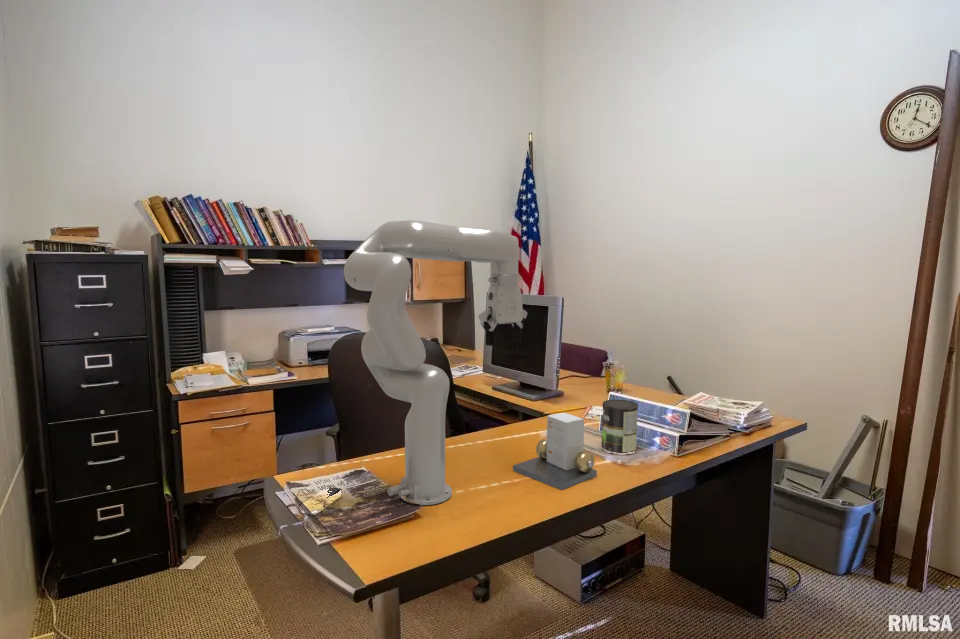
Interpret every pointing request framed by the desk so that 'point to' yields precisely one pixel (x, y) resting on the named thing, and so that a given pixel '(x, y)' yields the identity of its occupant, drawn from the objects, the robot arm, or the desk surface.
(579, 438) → the small box
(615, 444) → the coffee can
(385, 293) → the robot arm
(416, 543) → the desk surface
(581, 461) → the grey brass knob stand
